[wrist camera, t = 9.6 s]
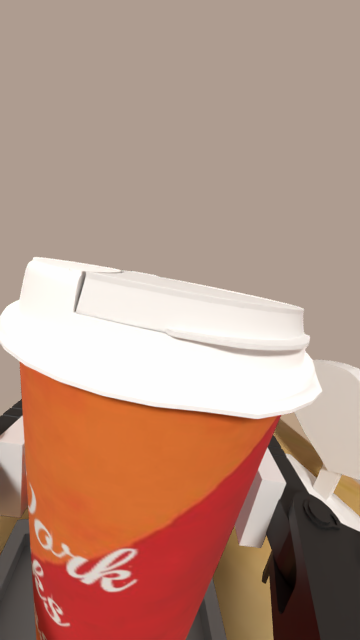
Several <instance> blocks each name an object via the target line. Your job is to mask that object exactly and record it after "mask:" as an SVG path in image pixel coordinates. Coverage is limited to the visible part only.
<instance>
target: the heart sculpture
mask: <svg viewBox="0 0 360 640" xmlns="http://www.w3.org/2000/svg"><path fill="white" fill-rule="evenodd" d="M313 363H314V367H315V372H316V376H317V379H318V381H319V384H320V386H321V389H322V393H321V395H320V396H319V397H318V398H317V399H316V400H315V401H314V402H313V403H312V404H311V405H308V406H306V407H304V408H301V409H299V410H297V411H294V413H295V415H296V417H297V419H298V421H299V423H300V425H301V427H302V428H303V431H304V433H305V434H306V436H307V437H308V439H309V441H310V442H311V444H312V445H313V447H314V448H315V450H316V452H317V453H318V455H319V456H320V458H321V460H322V461H323V466H322V468H321V470H320V472H319V475H318V477H317V478H316V477H315V476H314V475H313V474H312V473H311V472H309V471H308V470H307V469H306V468H305V467H304V466H303V465H302V464H300V463H299V462H298V461H297V460H296V459H295V458H294V457H293V456H292V455H290V454H286V457H287V458H288V459H289V461H290V463H291V464H292V466H293V468H294V469H295V471H296V472H297V474H298V476H299V477H300V479H301V481H302V482H303V484H304V486H305V487H306V489H307V491H308V492H309V494H312V495H313V496H315V497H317V498H318V499H320V500H321V501H323V502H324V503H325V504H326V505H327V506H328V507H329V508H330V509H331V510H332V511H333V512H334V513H335V515H336V516H337V517H338V519H339V520H340V522H341V523H342V524H344V525H347V526H349V527H351V528H353V529H355V530H357V531H360V516H359V515H357V514H356V513H355V512H354V511H353V510H352V509H351V508H350V507H348V506H347V505H346V504H345V503H344V502H343V501H342V500H341V499H340V498H338V497H337V496H336V495H335V494H334V493H333V492H334V490H335V488H336V486H337V483H338V481H339V479H340V477H341V475H342V474H343V475H346V476H349V477H352V478H355V479H358V480H360V369H358V368H356V367H353V366H350V365H348V364H344V363H340V362H335V361H327V360H313Z"/></svg>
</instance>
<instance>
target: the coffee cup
mask: <svg viewBox="0 0 360 640" xmlns="http://www.w3.org/2000/svg"><path fill="white" fill-rule="evenodd" d="M303 312H304V309H303V308H300V307H298V306H294V305H290V304H286V303H282V302H278V301H274V300H270V299H265V298H261V297H257V296H252V295H247V294H243V293H238V292H233V291H229V290H224V289H219V288H214V287H209V286H205V285H200V284H194V283H189V282H184V281H179V280H174V279H169V278H163V277H157V275H152V274H146V273H141V272H135V271H124V270H121V271H120V270H118V269H114V268H108V267H102V266H97V265H91V264H84V263H78V262H72V261H65V260H58V259H50V258H41V257H34V258H33V261H31V262H29V263H28V265H27V267H26V271H25V275H24V280H23V284H22V289H21V294H20V299H19V300H17V301H15V302H14V303H12V304H10V305H8V306H7V307H6V309H5V310H4V311H3V313H2V314H1V316H0V343H1V345H2V346H3V348H4V349H5V350H6V351H7V352H8V353H10V354H11V355H12V356H14V357H15V358H16V359H17V360H19V361H20V375H21V393H22V410H23V427H24V444H25V461H26V479H27V497H28V514H29V532H30V549H31V565H32V581H33V597H34V612H35V626H36V640H186V637H187V635H188V633H189V630H190V628H191V626H192V624H193V621H194V619H195V617H196V614H197V612H198V610H199V607H200V605H201V603H202V600H203V598H204V596H205V593H206V591H207V589H208V586H209V584H210V582H211V579H212V577H213V575H214V572H215V570H216V568H217V565H218V563H219V560H220V558H221V556H222V553H223V551H224V549H225V546H226V544H227V542H228V539H229V537H230V535H231V532H232V530H233V527H234V525H235V523H236V520H237V518H238V516H239V513H240V511H241V509H242V506H243V504H244V501H245V499H246V497H247V494H248V492H249V490H250V487H251V485H252V483H253V480H254V478H255V475H256V473H257V471H258V468H259V466H260V464H261V461H262V459H263V457H264V454H265V452H266V450H267V447H268V445H269V443H270V440H271V438H272V435H273V433H274V431H275V428H276V426H277V424H278V421H279V419H280V417H281V415H283V414H289V413H292V412H294V411H297V410H299V409H301V408H304V407H306V406H308V405H311V404H312V403H313V402H314V401H315V400H316V399H317V398H318V397H319V396H320V395H321V393H322V389H321V386H320V384H319V381H318V379H317V376H316V372H315V367H314V363H313V360H312V359H311V357H310V356H309V355H308V354H307V352H305V350H306V347H307V346H308V345H309V340H310V336H309V335H306V334H305V333H304V327H303Z"/></svg>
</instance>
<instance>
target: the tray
mask: <svg viewBox="0 0 360 640" xmlns="http://www.w3.org/2000/svg"><path fill="white" fill-rule="evenodd" d="M0 640H36V626H35V612H34V597H33V581H32V565H31V549H30V532H29V519H22V520H17V522H16V524H15V526H14V528H13V530H12V533H11V535H10V537H9V539H8V541H7V543H6V545H5V547H4V549H3V551H2V553H1V555H0ZM186 640H227V639H226V634H225V630H224V625H223V621H222V617H221V612H220V608H219V604H218V599H217V595H216V590H215V586H214V582H213V577H212V579H211V582H210V584H209V586H208V589H207V591H206V593H205V596H204V598H203V600H202V603H201V605H200V607H199V610H198V612H197V614H196V617H195V619H194V621H193V624H192V626H191V628H190V630H189V633H188V635H187V637H186Z"/></svg>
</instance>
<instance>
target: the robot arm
mask: <svg viewBox="0 0 360 640" xmlns="http://www.w3.org/2000/svg"><path fill="white" fill-rule="evenodd" d="M27 507H28V497H27V479H26V461H25V444H24V427H23V410H22V399H21V400H20V401H19V402H18V403H16V404H15V405H14V406H13V407H12V408H10V409H9V410H7V411H6V412H5V413H4V414H3V415H2V416H0V515H1V516H9V517H17V518H21V516H22V515H23V513H24V511H25V510H26V508H27ZM235 529H236V533H237V538H238V542H239V545H242V546H250V547H258V548H261V547H262V545H263V542H264V540H265V537H266V535H267V538H268V541H269V543H270V546H271V549H272V551H271V554H270V556H269V559H268V561H267V564H266V566H265V569H264V571H263V576H262V582H263V583H265V584H266V581H267V579H268V577H269V576H270V591H271V606H272V621H273V636H274V640H360V531H357V530H355V529H353V528H351V527H349V526H347V525H344V524H342V523H341V522H340V520H339V519H338V517H337V516H336V515H335V513H334V512H333V511H332V510H331V509H330V508H329V507H328V506H327V505H326V504H325V503H324V502H323V501H321V500H320V499H318V498H317V497H315V496H313V495H312V494H309V492H308V491H307V489H306V487H305V486H304V484H303V482H302V481H301V479H300V477H299V476H298V474H297V472H296V471H295V469H294V468H293V466H292V464H291V463H290V461H289V459H288V458H287V457H286V454H285V453H284V451H283V449H281V446H280V444H279V443H278V441H277V439H276V438H275V437H274V436H273V435H272V438H271V440H270V443H269V445H268V447H267V450H266V452H265V454H264V457H263V459H262V461H261V464H260V466H259V468H258V471H257V473H256V475H255V478H254V480H253V483H252V485H251V487H250V490H249V492H248V494H247V497H246V499H245V501H244V504H243V506H242V509H241V511H240V513H239V516H238V518H237V520H236V523H235Z"/></svg>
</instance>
